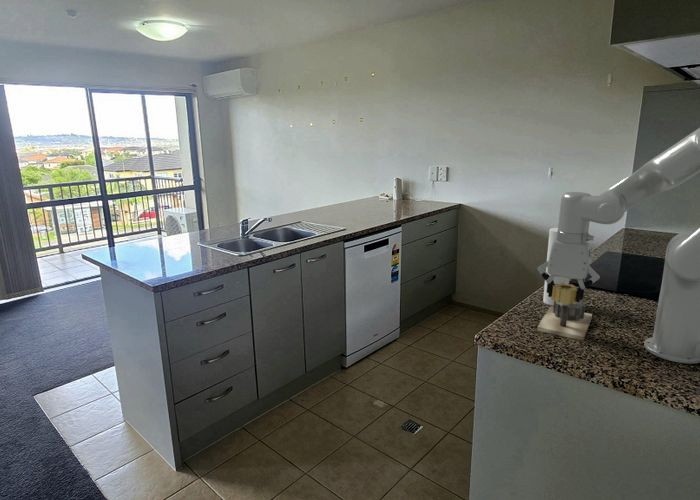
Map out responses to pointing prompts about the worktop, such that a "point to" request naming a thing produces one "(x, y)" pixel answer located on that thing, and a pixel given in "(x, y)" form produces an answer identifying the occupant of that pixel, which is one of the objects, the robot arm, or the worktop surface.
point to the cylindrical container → (556, 279)
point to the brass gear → (564, 293)
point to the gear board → (564, 331)
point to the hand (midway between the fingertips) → (564, 297)
